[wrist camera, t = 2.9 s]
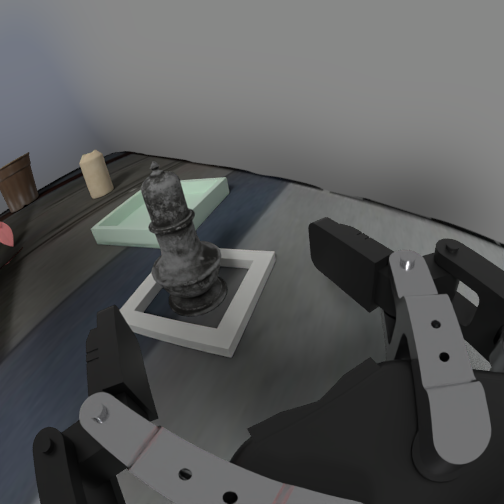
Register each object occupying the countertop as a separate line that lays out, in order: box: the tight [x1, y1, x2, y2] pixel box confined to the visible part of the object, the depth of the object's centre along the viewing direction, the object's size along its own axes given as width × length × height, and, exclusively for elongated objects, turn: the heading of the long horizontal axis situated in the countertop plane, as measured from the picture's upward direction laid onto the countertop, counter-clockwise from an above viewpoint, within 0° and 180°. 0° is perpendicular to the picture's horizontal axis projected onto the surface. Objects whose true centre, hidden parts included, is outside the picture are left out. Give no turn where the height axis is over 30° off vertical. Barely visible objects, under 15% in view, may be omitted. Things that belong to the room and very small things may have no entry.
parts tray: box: [91, 177, 230, 248], centre depth 39 cm, size 15×15×2 cm
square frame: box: [119, 248, 276, 358], centre depth 25 cm, size 11×11×1 cm
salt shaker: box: [141, 161, 227, 317], centre depth 22 cm, size 6×6×12 cm
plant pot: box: [0, 152, 39, 213], centre depth 71 cm, size 16×16×16 cm
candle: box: [80, 150, 114, 199], centre depth 55 cm, size 6×6×10 cm
